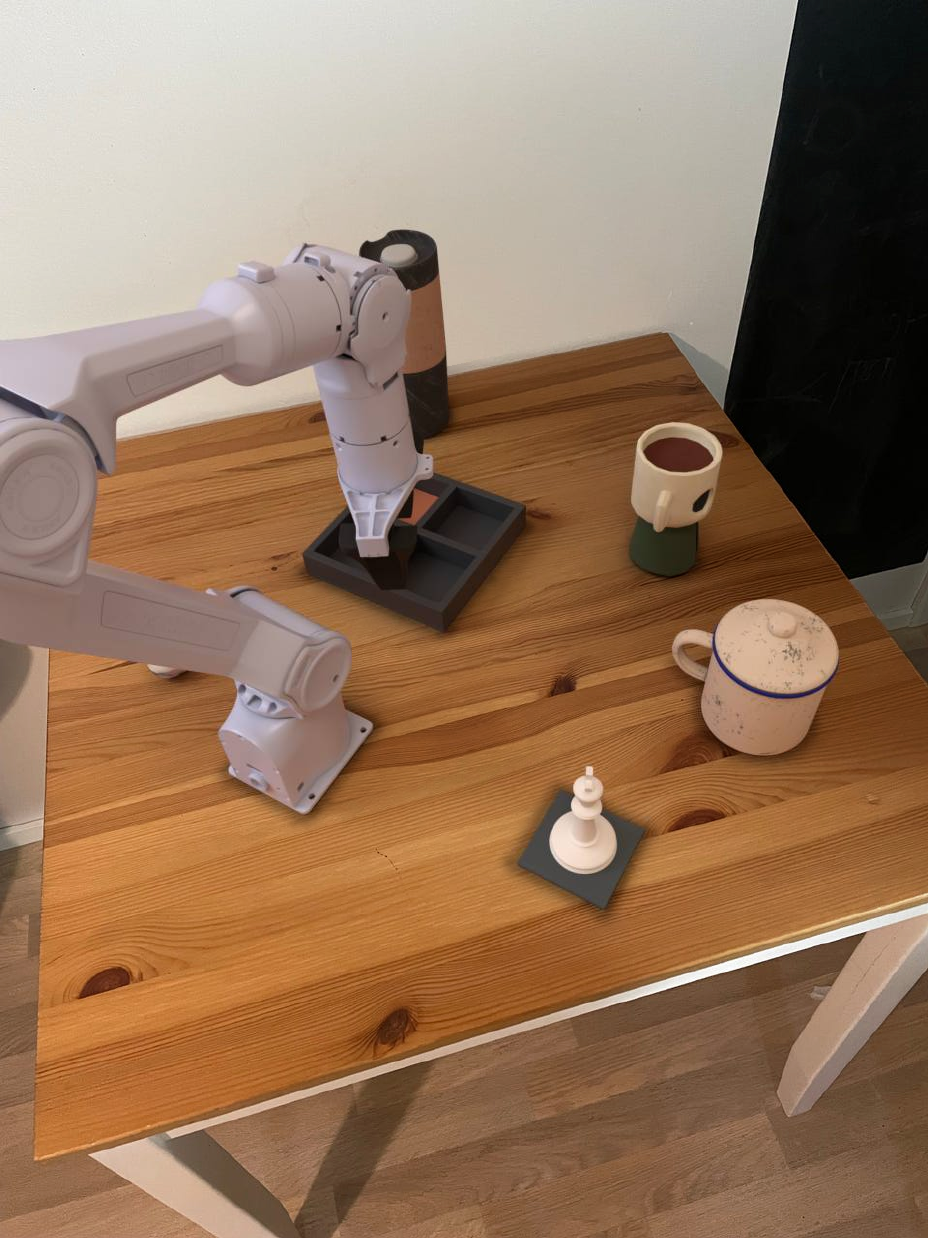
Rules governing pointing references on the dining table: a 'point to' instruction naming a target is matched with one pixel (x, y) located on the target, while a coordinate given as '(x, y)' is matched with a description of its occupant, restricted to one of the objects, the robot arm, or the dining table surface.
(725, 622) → the teacup with lid
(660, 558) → the character mug
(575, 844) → the chess piece
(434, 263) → the travel mug
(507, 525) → the tray
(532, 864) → the coaster
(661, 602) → the dining table surface
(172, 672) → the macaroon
